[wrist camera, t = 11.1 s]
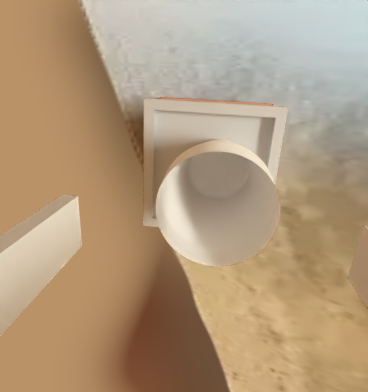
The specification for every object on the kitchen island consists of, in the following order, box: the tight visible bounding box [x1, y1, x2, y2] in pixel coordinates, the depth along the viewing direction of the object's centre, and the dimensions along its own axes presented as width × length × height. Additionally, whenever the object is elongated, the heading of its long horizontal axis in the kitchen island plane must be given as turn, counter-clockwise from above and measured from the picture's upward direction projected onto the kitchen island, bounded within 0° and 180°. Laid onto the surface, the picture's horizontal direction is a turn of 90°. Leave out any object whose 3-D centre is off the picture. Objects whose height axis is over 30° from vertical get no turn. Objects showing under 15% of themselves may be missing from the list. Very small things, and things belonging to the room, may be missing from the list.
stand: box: [143, 97, 288, 227], centre depth 35 cm, size 14×14×10 cm
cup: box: [156, 140, 280, 266], centre depth 26 cm, size 9×9×12 cm
